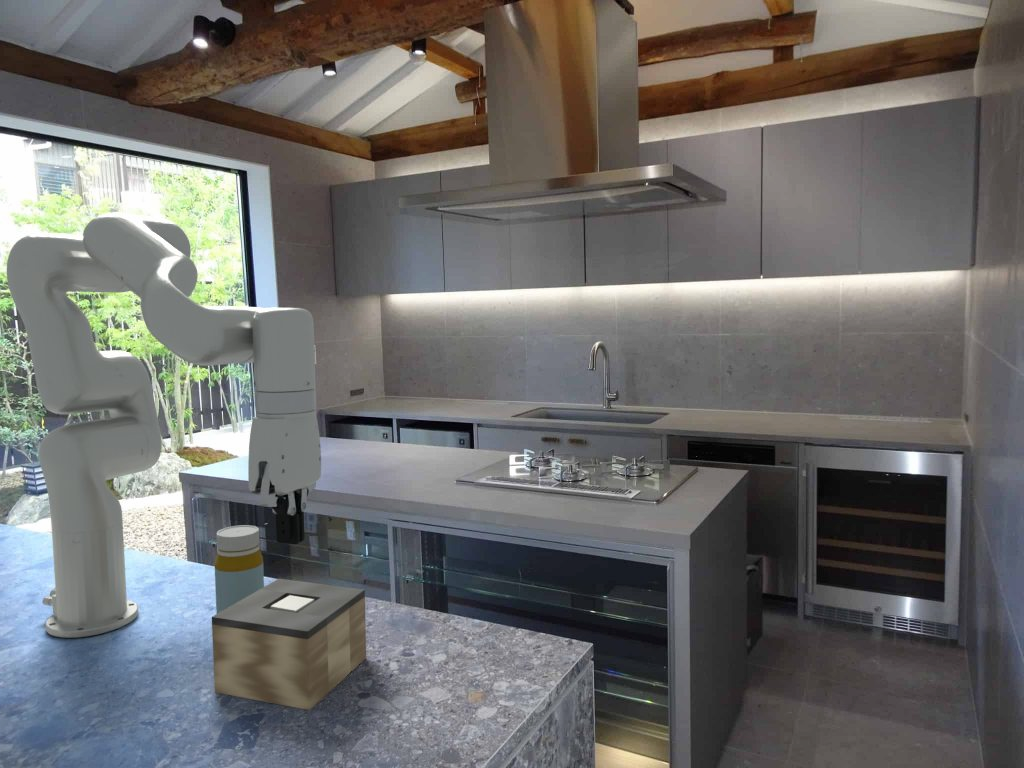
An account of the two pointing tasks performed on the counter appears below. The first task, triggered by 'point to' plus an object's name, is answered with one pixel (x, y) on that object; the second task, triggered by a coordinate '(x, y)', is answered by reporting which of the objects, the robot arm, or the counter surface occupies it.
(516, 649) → the counter surface
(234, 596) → the bottle
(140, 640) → the counter surface
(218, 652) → the socket
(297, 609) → the peg
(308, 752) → the counter surface
